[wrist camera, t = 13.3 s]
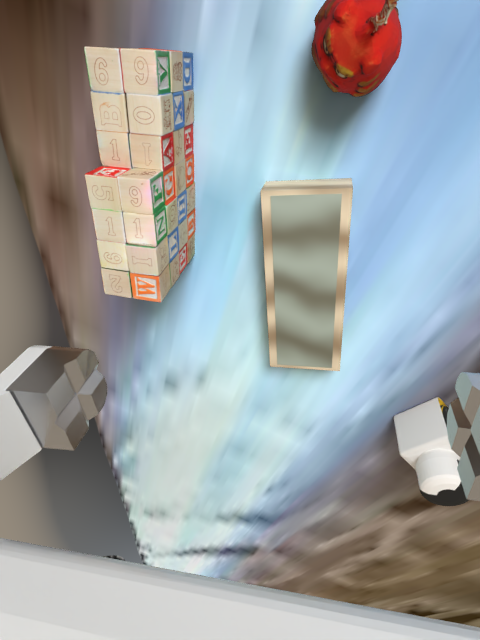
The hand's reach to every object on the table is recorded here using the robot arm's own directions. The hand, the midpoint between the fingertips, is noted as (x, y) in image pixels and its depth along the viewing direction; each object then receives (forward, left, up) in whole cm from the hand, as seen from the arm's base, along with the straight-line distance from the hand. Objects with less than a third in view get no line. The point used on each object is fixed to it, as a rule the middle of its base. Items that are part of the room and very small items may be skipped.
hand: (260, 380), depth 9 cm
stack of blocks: (+2, -16, -37) cm, 41 cm away
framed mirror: (+16, -1, -37) cm, 40 cm away
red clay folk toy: (-7, +3, -37) cm, 38 cm away
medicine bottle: (+39, +17, -37) cm, 56 cm away
